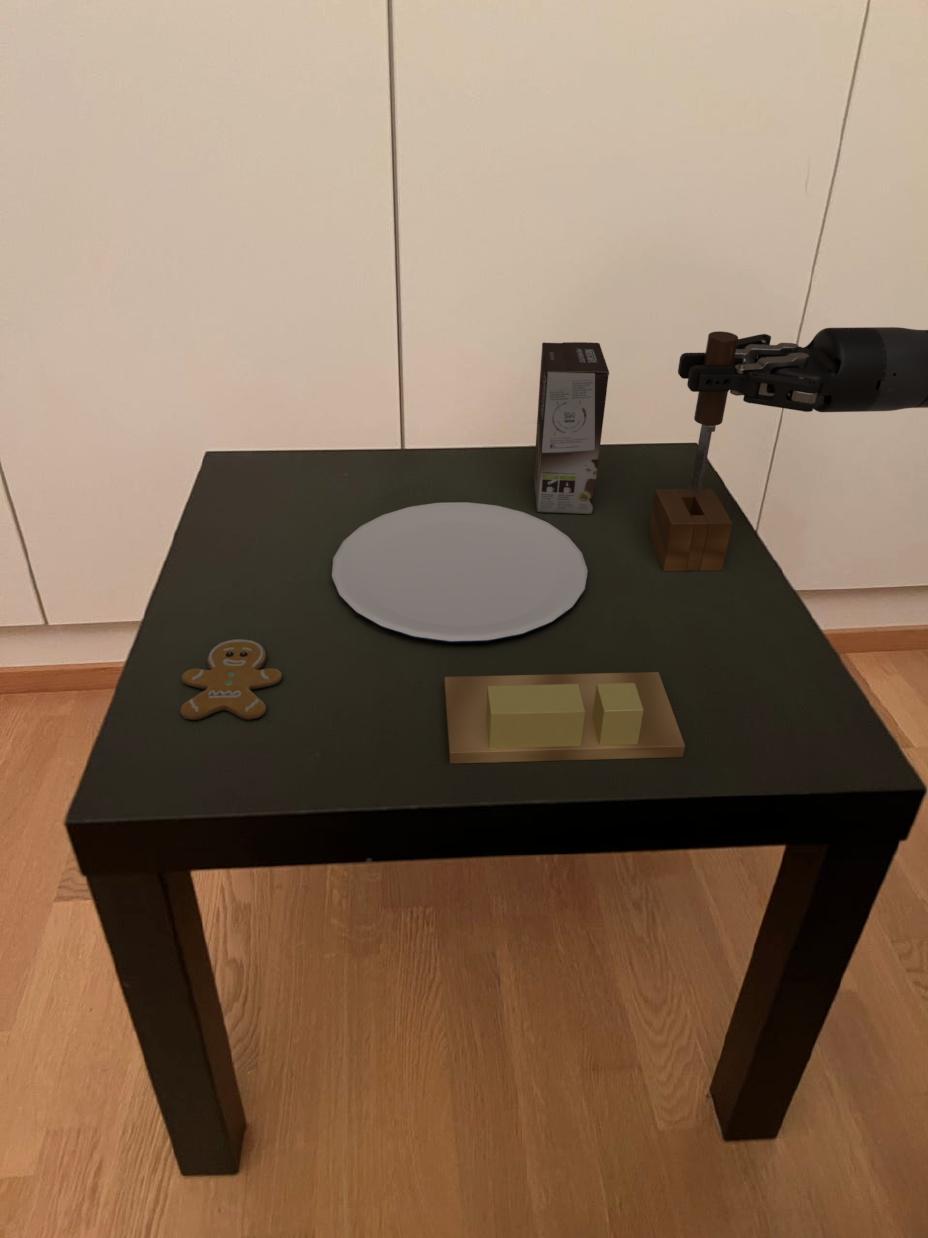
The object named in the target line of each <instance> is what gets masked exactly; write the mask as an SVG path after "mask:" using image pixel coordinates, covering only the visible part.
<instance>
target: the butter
mask: <svg viewBox="0 0 928 1238" xmlns="http://www.w3.org/2000/svg"><path fill="white" fill-rule="evenodd" d="M584 716H585V709H584V705H583V701H582V697H581V693H580V689H579V685H578V684H557V685H515V686H488V687H487V706H486V726H487V734H488V743H489V748H520V747H556V746H581V740H582V732H583V724H584Z"/></svg>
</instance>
